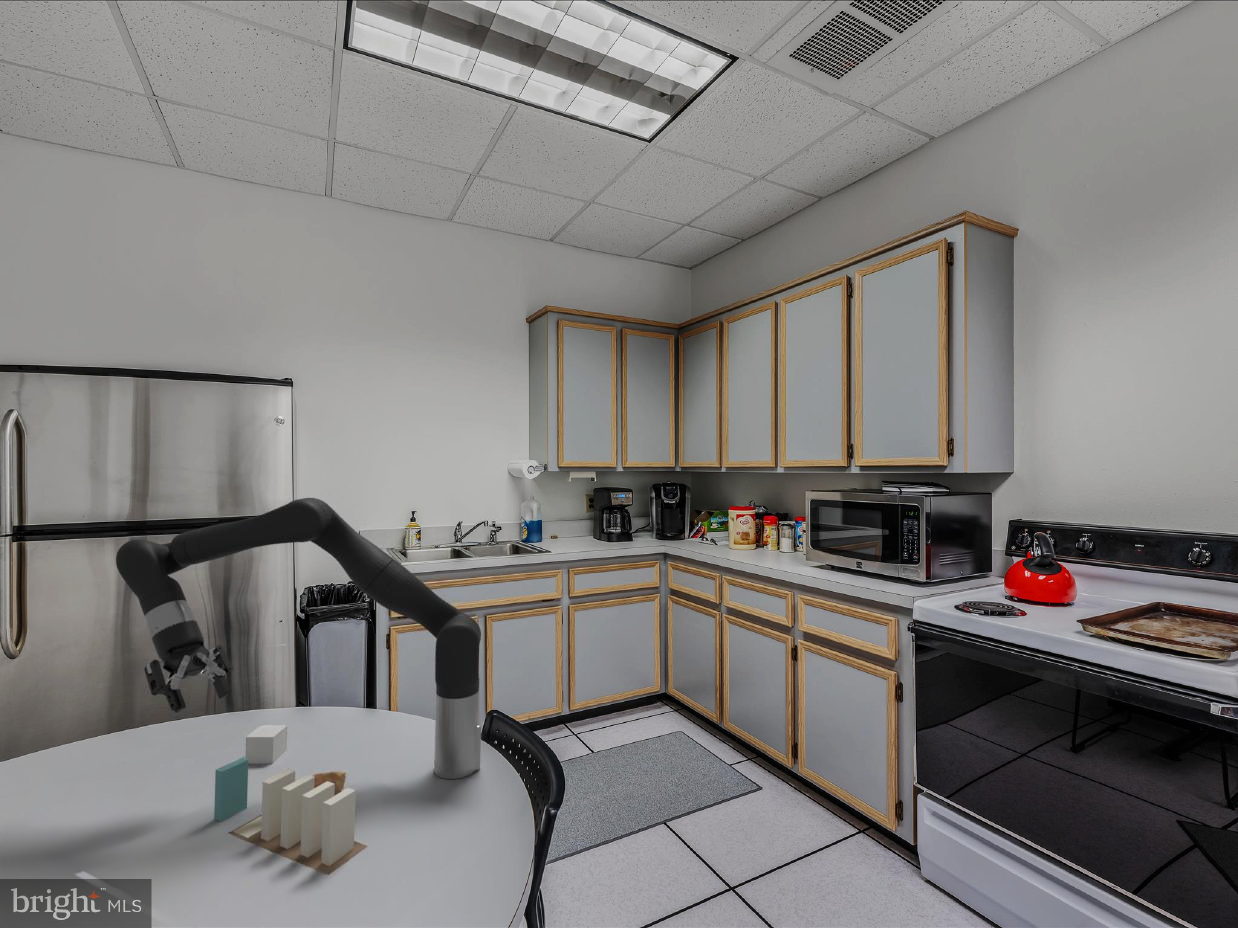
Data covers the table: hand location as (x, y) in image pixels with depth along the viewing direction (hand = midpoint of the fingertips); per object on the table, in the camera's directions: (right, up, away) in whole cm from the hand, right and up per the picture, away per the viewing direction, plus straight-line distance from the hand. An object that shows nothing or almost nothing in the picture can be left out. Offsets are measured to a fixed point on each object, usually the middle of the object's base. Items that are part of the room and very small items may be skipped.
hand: (203, 702), depth 113 cm
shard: (+21, -22, +9) cm, 32 cm away
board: (+23, -21, -9) cm, 33 cm away
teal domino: (+7, -21, -2) cm, 22 cm away
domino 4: (+32, -20, -13) cm, 41 cm away
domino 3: (+28, -20, -11) cm, 36 cm away
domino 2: (+23, -20, -9) cm, 32 cm away
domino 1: (+19, -20, -7) cm, 28 cm away
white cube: (-1, -21, +21) cm, 30 cm away
